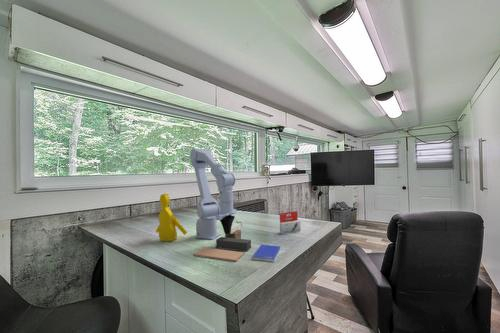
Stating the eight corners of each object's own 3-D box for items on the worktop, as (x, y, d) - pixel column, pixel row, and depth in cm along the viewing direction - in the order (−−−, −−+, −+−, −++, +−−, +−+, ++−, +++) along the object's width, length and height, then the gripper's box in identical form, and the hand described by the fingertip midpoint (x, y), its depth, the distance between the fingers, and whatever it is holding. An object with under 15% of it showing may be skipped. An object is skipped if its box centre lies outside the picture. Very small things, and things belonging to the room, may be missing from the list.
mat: (193, 255, 81) (193, 253, 81) (203, 249, 88) (203, 247, 88) (236, 261, 74) (236, 259, 74) (244, 254, 81) (244, 252, 81)
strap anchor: (225, 242, 95) (225, 233, 95) (231, 237, 101) (231, 229, 101) (235, 243, 93) (235, 233, 93) (241, 238, 99) (240, 230, 99)
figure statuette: (189, 238, 102) (188, 192, 102) (179, 244, 94) (178, 194, 95) (159, 236, 107) (157, 192, 108) (147, 241, 100) (146, 194, 100)
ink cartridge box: (301, 230, 108) (300, 211, 109) (282, 234, 104) (281, 214, 104) (297, 229, 111) (297, 210, 111) (279, 233, 106) (279, 213, 106)
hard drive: (274, 258, 73) (280, 246, 85) (251, 256, 76) (260, 244, 88) (274, 263, 73) (280, 250, 85) (251, 260, 76) (260, 248, 88)
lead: (216, 248, 89) (216, 239, 89) (221, 245, 93) (220, 236, 93) (247, 252, 84) (247, 243, 84) (251, 248, 87) (250, 239, 87)
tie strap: (225, 233, 94) (225, 227, 94) (238, 225, 106) (238, 220, 106) (231, 233, 92) (231, 227, 93) (243, 226, 105) (243, 220, 105)
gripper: (226, 204, 84) (227, 239, 84) (241, 199, 97) (242, 229, 97) (211, 204, 87) (212, 237, 86) (228, 199, 100) (228, 228, 100)
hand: (227, 233), depth 92 cm, fingers closed
